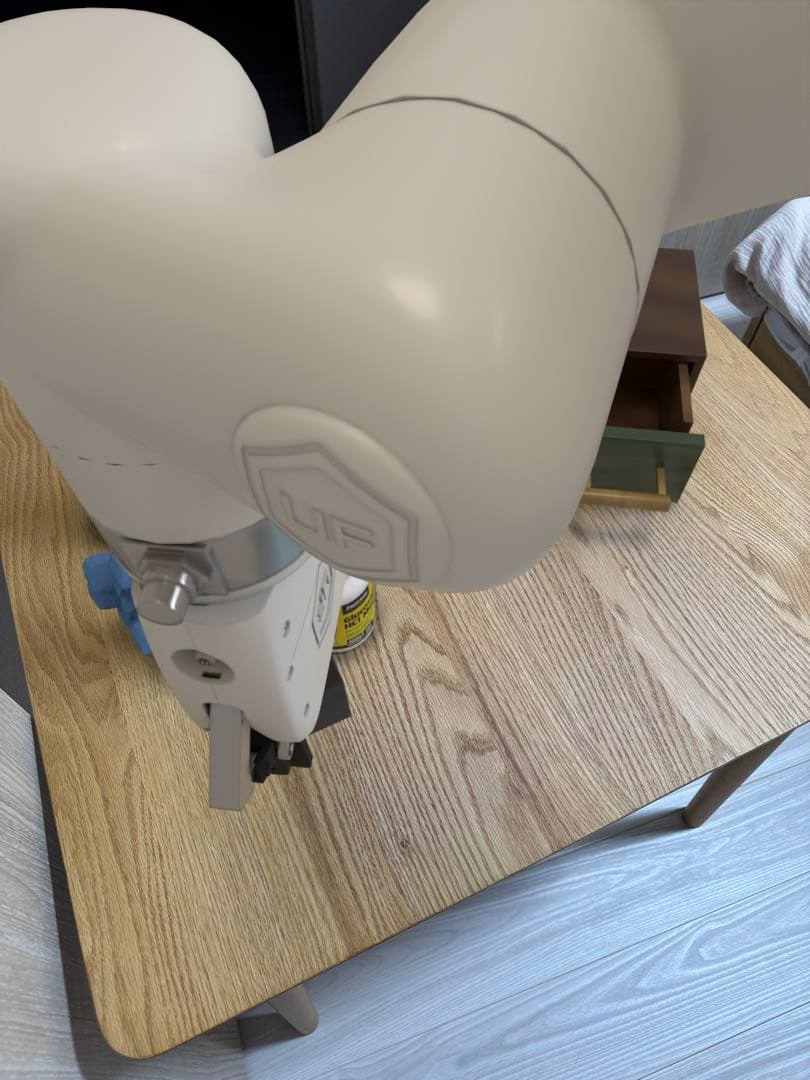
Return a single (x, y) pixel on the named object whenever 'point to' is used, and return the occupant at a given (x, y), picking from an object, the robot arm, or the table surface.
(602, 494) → the drawer
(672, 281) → the cabinet
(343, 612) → the pill bottle
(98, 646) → the table surface
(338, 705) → the block
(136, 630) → the blue lumpy piece
